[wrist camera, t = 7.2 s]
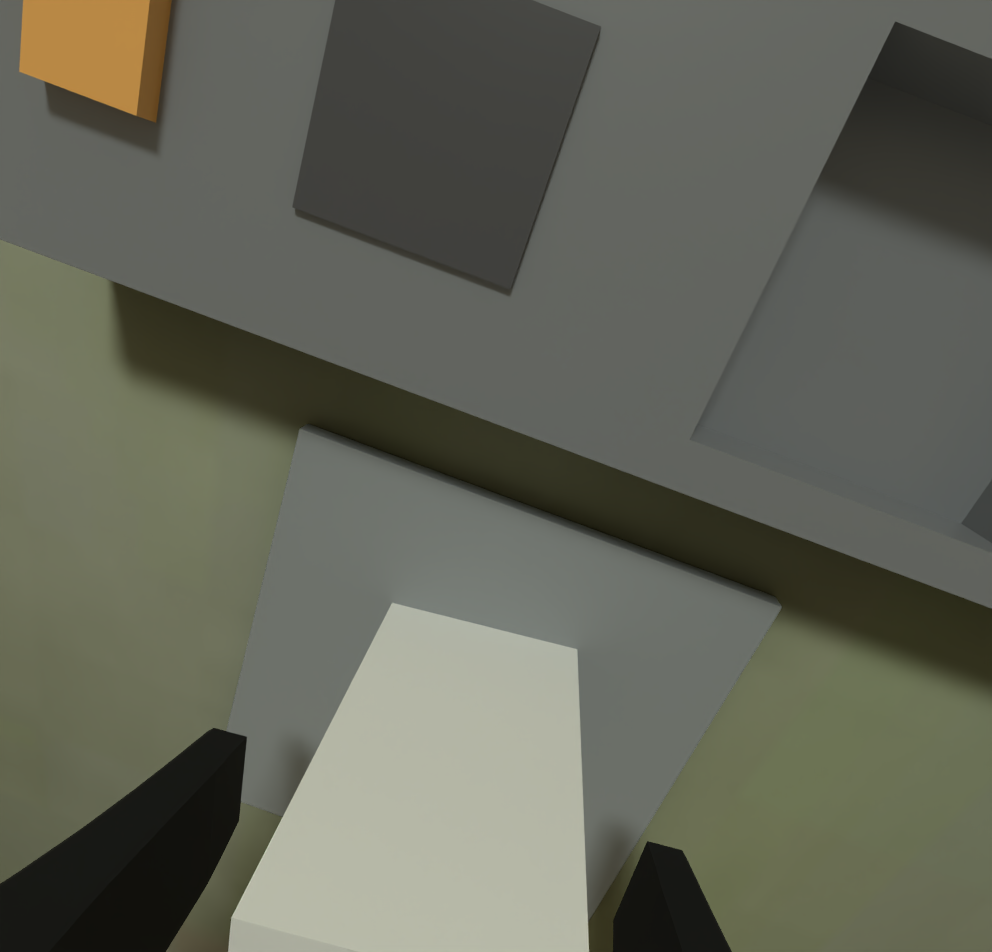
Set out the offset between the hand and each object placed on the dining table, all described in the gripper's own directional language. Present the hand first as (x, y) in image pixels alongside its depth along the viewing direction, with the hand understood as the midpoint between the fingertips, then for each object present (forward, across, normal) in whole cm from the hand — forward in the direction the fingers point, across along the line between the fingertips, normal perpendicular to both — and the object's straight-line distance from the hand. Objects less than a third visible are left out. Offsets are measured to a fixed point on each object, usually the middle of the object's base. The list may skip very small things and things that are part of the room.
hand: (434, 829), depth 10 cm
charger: (+3, 0, 0) cm, 3 cm away
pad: (+3, 0, 0) cm, 3 cm away
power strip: (+3, +2, -11) cm, 11 cm away
